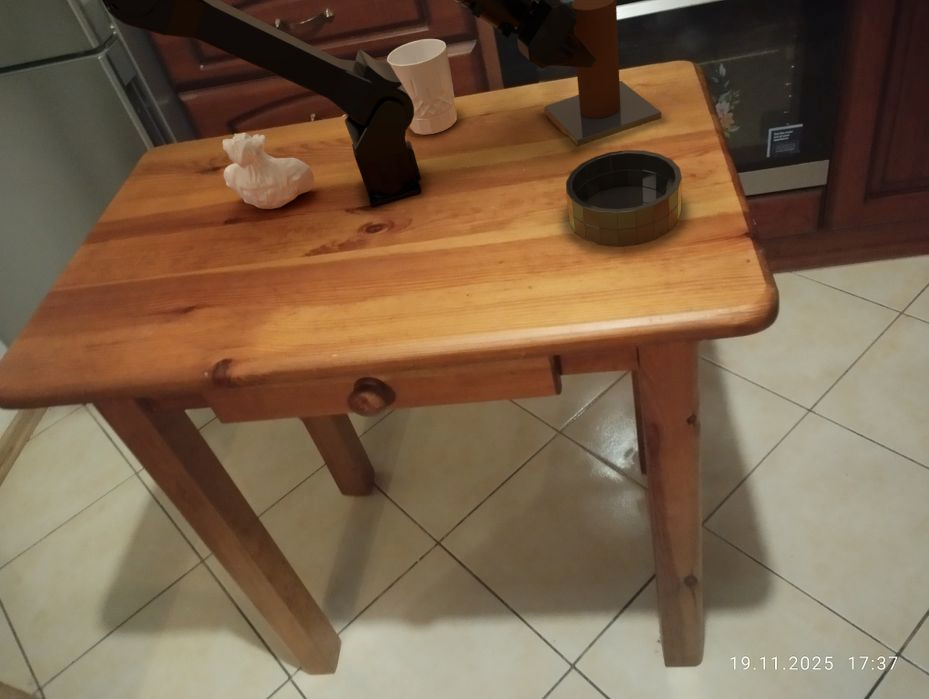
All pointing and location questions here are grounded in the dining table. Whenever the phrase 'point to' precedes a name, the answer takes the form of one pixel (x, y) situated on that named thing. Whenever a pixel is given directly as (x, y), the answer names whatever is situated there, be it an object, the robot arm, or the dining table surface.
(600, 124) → the plate
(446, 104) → the white cup
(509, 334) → the dining table surface
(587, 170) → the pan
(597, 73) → the brown cylinder
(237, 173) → the white lumpy figure
